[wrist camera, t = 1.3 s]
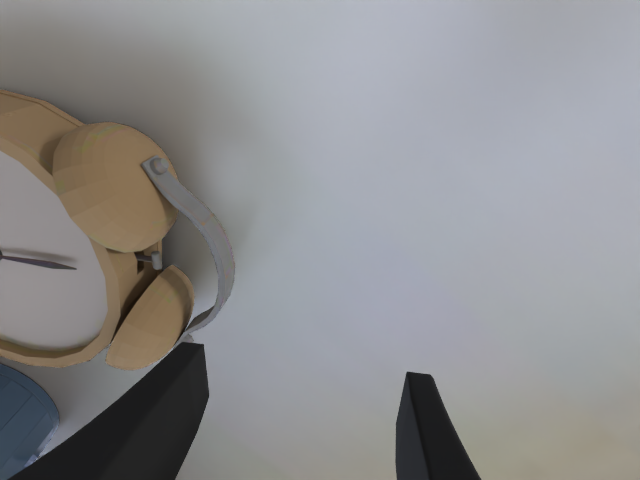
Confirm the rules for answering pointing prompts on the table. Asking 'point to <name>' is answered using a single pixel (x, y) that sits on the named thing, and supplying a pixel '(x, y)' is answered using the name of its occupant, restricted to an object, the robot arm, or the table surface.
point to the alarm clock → (92, 242)
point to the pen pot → (23, 421)
